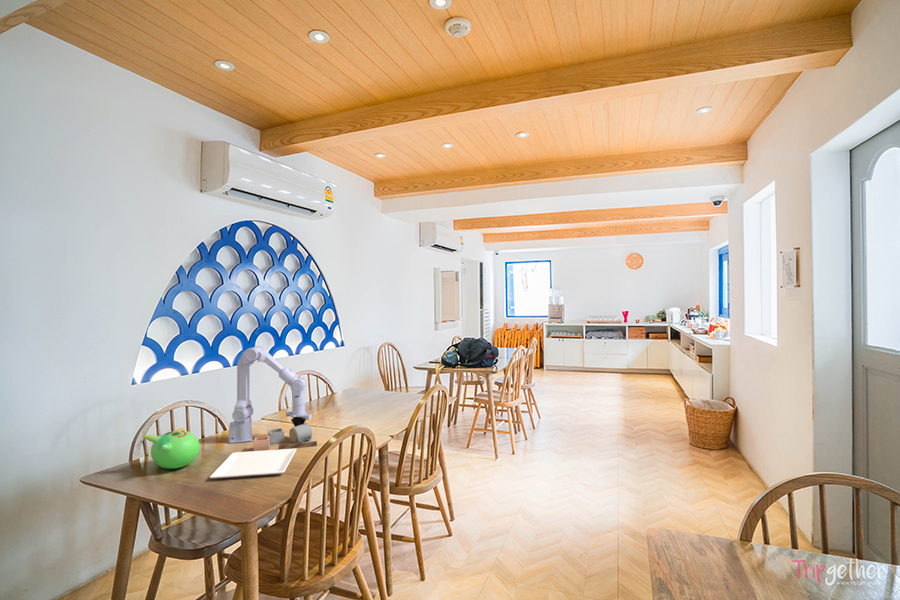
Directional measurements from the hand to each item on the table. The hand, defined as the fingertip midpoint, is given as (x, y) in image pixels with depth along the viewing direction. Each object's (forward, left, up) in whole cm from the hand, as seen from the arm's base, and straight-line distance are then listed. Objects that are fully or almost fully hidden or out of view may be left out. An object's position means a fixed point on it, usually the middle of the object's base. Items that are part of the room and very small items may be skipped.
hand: (299, 432), depth 209 cm
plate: (-15, -31, -3) cm, 35 cm away
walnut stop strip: (0, -14, -2) cm, 14 cm away
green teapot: (-46, -22, -3) cm, 51 cm away
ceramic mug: (+2, -7, -3) cm, 8 cm away
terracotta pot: (-15, -12, -2) cm, 19 cm away
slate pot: (-10, -2, -2) cm, 10 cm away
